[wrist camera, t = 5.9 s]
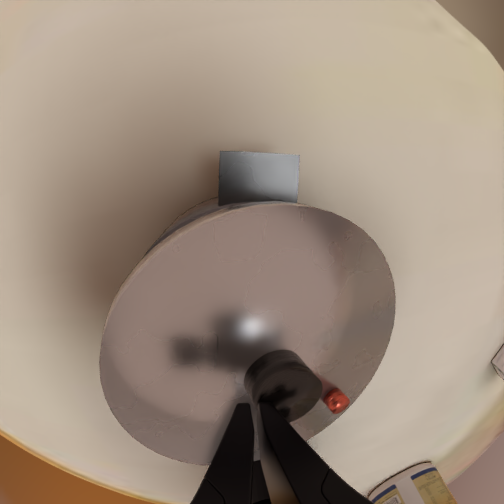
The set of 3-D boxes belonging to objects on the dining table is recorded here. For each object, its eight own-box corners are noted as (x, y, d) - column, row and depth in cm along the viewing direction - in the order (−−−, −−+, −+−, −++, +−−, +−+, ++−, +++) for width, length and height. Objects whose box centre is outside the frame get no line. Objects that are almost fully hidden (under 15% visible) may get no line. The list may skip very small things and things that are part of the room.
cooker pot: (238, 406, 20) (242, 452, 15) (92, 271, 16) (58, 302, 11) (380, 310, 18) (414, 343, 14) (257, 128, 14) (271, 112, 10)
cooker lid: (400, 206, 12) (446, 217, 9) (350, 413, 15) (374, 439, 13) (74, 208, 7) (47, 225, 5) (140, 464, 11) (147, 505, 8)
